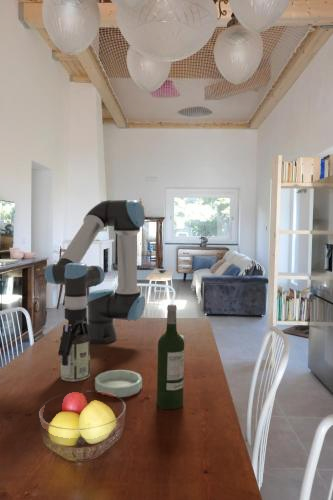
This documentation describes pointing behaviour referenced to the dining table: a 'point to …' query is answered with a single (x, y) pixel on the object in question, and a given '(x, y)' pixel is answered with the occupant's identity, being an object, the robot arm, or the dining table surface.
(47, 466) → the dining table surface
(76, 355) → the coffee can
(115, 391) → the ring tray
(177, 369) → the wine bottle
